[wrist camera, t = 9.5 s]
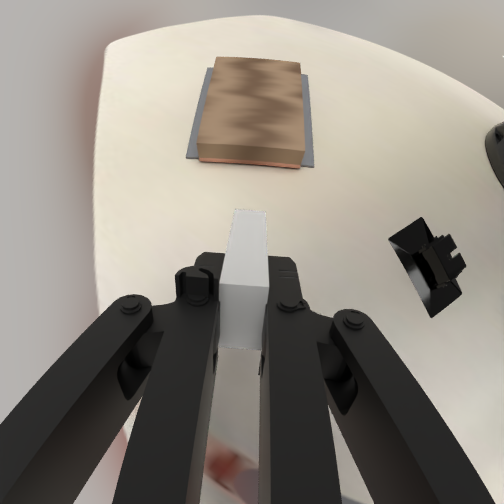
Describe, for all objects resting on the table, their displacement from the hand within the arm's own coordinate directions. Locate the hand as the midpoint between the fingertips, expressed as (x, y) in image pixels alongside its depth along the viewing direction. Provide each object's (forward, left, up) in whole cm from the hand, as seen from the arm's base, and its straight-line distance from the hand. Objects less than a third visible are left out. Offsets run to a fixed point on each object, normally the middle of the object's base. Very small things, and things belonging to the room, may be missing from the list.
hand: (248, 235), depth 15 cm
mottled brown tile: (-4, -11, -10) cm, 15 cm away
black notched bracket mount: (-18, +4, -12) cm, 22 cm away
